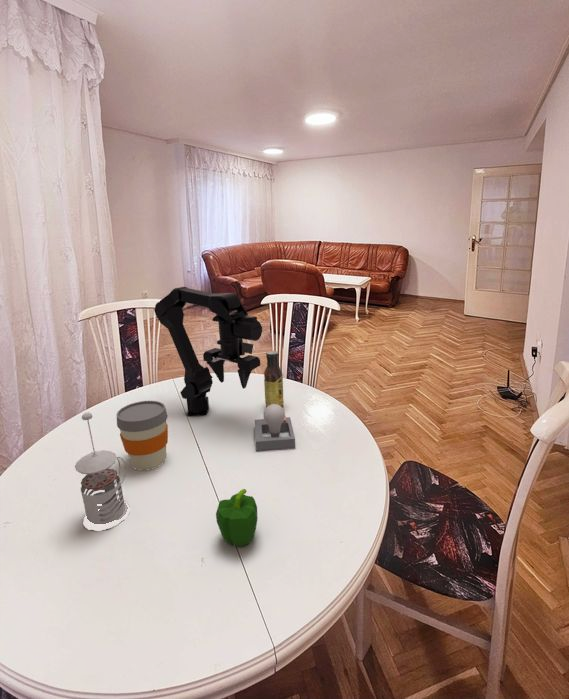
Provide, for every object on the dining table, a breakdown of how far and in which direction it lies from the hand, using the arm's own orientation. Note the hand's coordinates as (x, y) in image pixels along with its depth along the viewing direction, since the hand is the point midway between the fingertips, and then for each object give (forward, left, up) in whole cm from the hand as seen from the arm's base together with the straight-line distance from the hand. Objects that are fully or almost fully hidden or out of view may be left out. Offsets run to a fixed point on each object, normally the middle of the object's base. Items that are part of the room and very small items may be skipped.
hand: (233, 385), depth 123 cm
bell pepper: (+2, -49, -13) cm, 51 cm away
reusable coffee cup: (-23, -18, -13) cm, 32 cm away
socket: (+11, -11, -13) cm, 21 cm away
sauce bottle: (+13, +9, -13) cm, 21 cm away
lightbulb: (+12, -12, -13) cm, 21 cm away
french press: (-27, -38, -13) cm, 48 cm away
